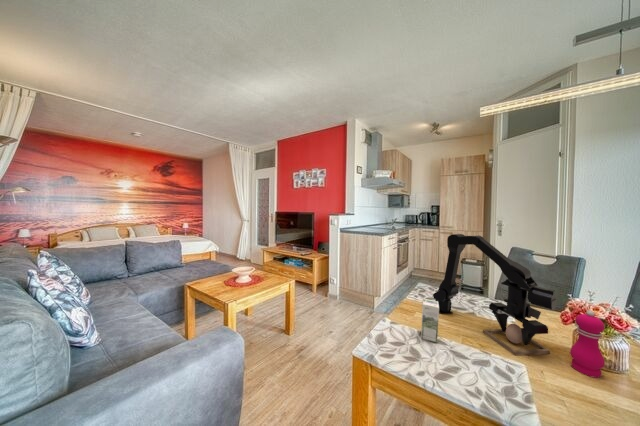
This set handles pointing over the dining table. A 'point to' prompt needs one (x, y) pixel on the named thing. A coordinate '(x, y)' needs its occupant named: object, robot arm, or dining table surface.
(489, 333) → the walnut frame
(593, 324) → the pepper mill
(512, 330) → the egg
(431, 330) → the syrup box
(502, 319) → the robot arm
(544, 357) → the dining table surface
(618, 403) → the dining table surface
